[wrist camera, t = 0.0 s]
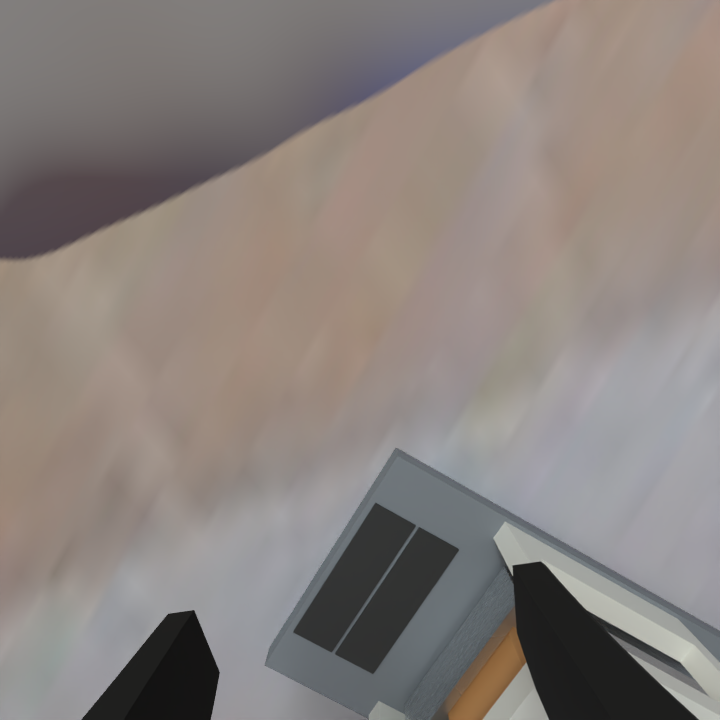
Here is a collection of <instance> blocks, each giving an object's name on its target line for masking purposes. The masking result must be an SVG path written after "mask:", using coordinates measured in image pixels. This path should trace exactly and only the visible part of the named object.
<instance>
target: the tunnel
mask: <svg viewBox="0 0 720 720" xmlns="http://www.w3.org/2000/svg"><path fill="white" fill-rule="evenodd" d="M493 539H494V541H495V542H496V544H497V546H498V548H499V550H500V552H501V554H502V556H503V558H504V560H505V562H506V564H507V566H508V568H509V570H510V572H511V574H512V575H513V568H512V565H518V564H525V563H533V562H540V561H541V562H542V563H543V564H545V565H546V566H547V567H548V568H549V569H550V571H551V572H552V573H553V574H554V575H555V576H556V577H557V579H558V580H559V581H560V582H561V583H562V584H563V585H564V586H565V588H566V589H567V590H568V591H569V592H570V593H571V594H572V595H573V596H574V597H575V598H576V600H577V601H578V602H579V603H580V604H581V605H582V606H583V607H584V608H585V609H586V610H587V611H589V612H591V613H593V614H594V615H596V616H598V617H600V618H602V619H603V620H605V621H607V622H609V623H611V624H612V625H614V626H616V627H618V628H619V629H621V630H623V631H625V632H627V633H628V634H630V635H632V636H634V637H636V638H637V639H639V640H641V641H643V642H645V643H646V644H648V645H650V646H652V647H654V648H655V649H657V650H659V651H661V652H663V653H664V654H666V655H668V656H670V657H672V658H673V659H675V660H677V661H679V662H680V663H681V664H682V665H683V666H684V667H685V668H686V670H687V671H688V672H689V673H690V674H691V675H692V677H693V678H694V679H695V680H696V681H697V683H698V684H699V685H700V686H701V687H702V688H703V690H704V691H705V692H706V693H707V694H708V695H709V696H707V695H705V694H703V693H701V692H700V691H698V690H696V689H694V688H692V687H691V686H689V685H687V684H685V683H683V682H682V681H680V680H678V679H676V678H674V677H672V676H671V675H669V674H667V673H665V672H663V671H662V670H660V669H658V668H656V667H654V666H653V665H651V664H649V663H647V662H645V661H644V660H642V659H640V658H638V657H636V656H634V655H633V654H631V653H629V652H628V653H629V654H630V655H631V656H632V657H633V658H634V659H635V660H636V661H637V662H638V663H639V664H640V665H641V666H642V667H643V668H644V669H645V670H646V671H647V672H648V673H649V674H650V675H651V676H653V677H654V678H655V679H656V680H657V681H658V682H659V683H660V684H661V685H662V686H663V687H664V688H665V689H666V690H667V691H668V692H669V693H671V694H672V695H673V696H674V697H675V698H676V699H677V700H678V701H679V702H680V703H681V704H683V705H684V706H685V707H686V708H687V709H688V710H689V711H690V712H691V713H692V714H693V715H694V716H696V717H697V718H698V719H699V720H720V662H719V661H718V660H717V659H716V658H715V657H714V656H713V655H712V654H711V653H710V652H709V651H708V650H707V649H706V648H705V647H704V646H703V645H702V643H701V642H700V641H699V640H698V639H697V638H696V637H695V636H694V635H693V634H692V633H691V632H690V631H689V630H688V629H687V628H686V627H685V626H684V625H683V624H682V623H681V622H680V620H679V619H677V618H675V617H674V616H672V615H670V614H668V613H666V612H665V611H663V610H661V609H659V608H658V607H656V606H654V605H652V604H650V603H649V602H647V601H645V600H643V599H642V598H640V597H638V596H636V595H635V594H633V593H631V592H629V591H627V590H626V589H624V588H622V587H620V586H619V585H617V584H615V583H613V582H612V581H610V580H608V579H606V578H604V577H603V576H601V575H599V574H597V573H596V572H594V571H592V570H590V569H588V568H587V567H585V566H583V565H581V564H580V563H578V562H576V561H574V560H573V559H571V558H569V557H567V556H565V555H564V554H562V553H560V552H558V551H557V550H555V549H553V548H551V547H550V546H548V545H546V544H544V543H542V542H541V541H539V540H537V539H535V538H534V537H532V536H530V535H528V534H526V533H525V532H523V531H521V530H519V529H518V528H516V527H514V526H512V525H511V524H509V523H507V522H504V524H503V525H502V527H501V528H500V529H499V531H498V532H497V534H496V535H495V536H494V538H493ZM369 720H405V714H403V713H401V712H399V711H397V710H395V709H394V708H392V707H390V706H388V705H386V704H384V703H382V702H380V701H378V703H377V704H376V705H375V707H374V708H373V710H372V711H371V712H370V714H369ZM483 720H549V718H548V716H547V714H546V712H545V709H544V707H543V705H542V702H541V700H540V698H539V695H538V693H537V691H536V688H535V685H534V682H533V680H532V677H531V674H530V671H529V668H528V665H527V662H526V663H525V665H524V666H523V667H522V669H521V670H520V671H519V672H518V674H517V675H516V676H515V678H514V679H513V680H512V682H511V683H510V684H509V686H508V687H507V688H506V689H505V691H504V692H503V693H502V695H501V696H500V697H499V699H498V700H497V701H496V703H495V704H494V705H493V706H492V708H491V709H490V710H489V712H488V713H487V714H486V716H485V717H484V718H483Z"/></svg>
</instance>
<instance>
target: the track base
mask: <svg viewBox="0 0 720 720" xmlns="http://www.w3.org/2000/svg"><path fill="white" fill-rule="evenodd" d="M504 522H507V523H509V524H511V525H512V526H514V527H516V528H518V529H519V530H521V531H523V532H525V533H526V534H528V535H530V536H532V537H534V538H535V539H537V540H539V541H541V542H542V543H544V544H546V545H548V546H550V547H551V548H553V549H555V550H557V551H558V552H560V553H562V554H564V555H565V556H567V557H569V558H571V559H573V560H574V561H576V562H578V563H580V564H581V565H583V566H585V567H587V568H588V569H590V570H592V571H594V572H596V573H597V574H599V575H601V576H603V577H604V578H606V579H608V580H610V581H612V582H613V583H615V584H617V585H619V586H620V587H622V588H624V589H626V590H627V591H629V592H631V593H633V594H635V595H636V596H638V597H640V598H642V599H643V600H645V601H647V602H649V603H650V604H652V605H654V606H656V607H658V608H659V609H661V610H663V611H665V612H666V613H668V614H670V615H672V616H674V617H675V618H677V619H679V620H680V622H681V623H682V624H683V625H684V626H685V627H686V628H687V629H688V630H689V631H690V632H691V633H692V634H693V635H694V636H695V637H696V638H697V639H698V640H699V641H700V642H701V643H702V645H703V646H704V647H705V648H706V649H707V650H708V651H709V652H710V653H711V654H712V655H713V656H714V657H715V658H716V659H717V660H718V661H719V662H720V631H719V630H717V629H715V628H713V627H712V626H710V625H708V624H706V623H704V622H703V621H701V620H699V619H697V618H696V617H694V616H692V615H690V614H689V613H687V612H685V611H683V610H682V609H680V608H678V607H676V606H674V605H673V604H671V603H669V602H667V601H666V600H664V599H662V598H660V597H659V596H657V595H655V594H653V593H652V592H650V591H648V590H646V589H644V588H643V587H641V586H639V585H637V584H636V583H634V582H632V581H630V580H629V579H627V578H625V577H623V576H622V575H620V574H618V573H616V572H614V571H613V570H611V569H609V568H607V567H606V566H604V565H602V564H600V563H599V562H597V561H595V560H593V559H592V558H590V557H588V556H586V555H584V554H583V553H581V552H579V551H577V550H576V549H574V548H572V547H570V546H569V545H567V544H565V543H563V542H562V541H560V540H558V539H556V538H554V537H553V536H551V535H549V534H547V533H546V532H544V531H542V530H540V529H539V528H537V527H535V526H533V525H532V524H530V523H528V522H526V521H524V520H523V519H521V518H519V517H517V516H516V515H514V514H512V513H510V512H509V511H507V510H505V509H503V508H502V507H500V506H498V505H496V504H494V503H493V502H491V501H489V500H487V499H486V498H484V497H482V496H480V495H479V494H477V493H475V492H473V491H472V490H470V489H468V488H466V487H464V486H463V485H461V484H459V483H457V482H456V481H454V480H452V479H450V478H449V477H447V476H445V475H443V474H442V473H440V472H438V471H436V470H434V469H433V468H431V467H429V466H427V465H426V464H424V463H422V462H420V461H419V460H417V459H415V458H413V457H412V456H410V455H408V454H406V453H405V452H403V451H401V450H399V449H397V448H396V449H395V450H394V452H393V453H392V455H391V457H390V458H389V460H388V461H387V463H386V464H385V466H384V468H383V469H382V471H381V472H380V474H379V476H378V477H377V479H376V480H375V482H374V483H373V485H372V487H371V488H370V490H369V491H368V493H367V494H366V496H365V498H364V499H363V501H362V502H361V504H360V506H359V507H358V509H357V510H356V512H355V513H354V515H353V517H352V518H351V520H350V521H349V523H348V525H347V526H346V528H345V529H344V531H343V532H342V534H341V536H340V537H339V539H338V540H337V542H336V544H335V545H334V547H333V548H332V550H331V551H330V553H329V555H328V556H327V558H326V559H325V561H324V563H323V564H322V566H321V567H320V569H319V570H318V572H317V574H316V575H315V577H314V578H313V580H312V582H311V583H310V585H309V586H308V588H307V589H306V591H305V593H304V594H303V596H302V597H301V599H300V601H299V602H298V604H297V605H296V607H295V608H294V610H293V612H292V613H291V615H290V616H289V618H288V619H287V621H286V623H285V624H284V626H283V627H282V629H281V631H280V632H279V634H278V635H277V637H276V638H275V640H274V642H273V643H272V645H271V646H270V648H269V651H268V655H267V659H266V662H265V666H267V667H269V668H271V669H273V670H275V671H277V672H279V673H281V674H283V675H285V676H287V677H288V678H290V679H292V680H294V681H296V682H298V683H300V684H302V685H304V686H306V687H308V688H310V689H312V690H314V691H316V692H318V693H320V694H322V695H324V696H325V697H327V698H329V699H331V700H333V701H335V702H337V703H339V704H341V705H343V706H345V707H347V708H349V709H351V710H353V711H355V712H357V713H359V714H361V715H363V716H364V717H366V718H368V719H369V714H370V712H371V711H372V710H373V708H374V707H375V705H376V704H377V703H378V701H380V702H382V703H384V704H386V705H388V706H390V707H392V708H394V709H395V710H397V711H399V712H401V713H403V714H405V709H404V705H405V703H406V702H407V700H408V699H409V698H410V696H411V695H412V694H413V692H414V691H415V689H416V688H417V687H418V685H419V684H420V682H421V681H422V680H423V678H424V677H425V675H426V674H427V673H428V671H429V670H430V668H431V667H432V666H433V664H434V663H435V662H436V660H437V659H438V657H439V656H440V655H441V653H442V652H443V650H444V649H445V648H446V646H447V645H448V643H449V642H450V641H451V639H452V638H453V636H454V635H455V634H456V632H457V631H458V630H459V628H460V627H461V625H462V624H463V623H464V621H465V620H466V618H467V617H468V616H469V614H470V613H471V611H472V610H473V609H474V607H475V606H476V604H477V603H478V602H479V600H480V599H481V598H482V596H483V595H484V593H485V592H486V591H487V589H488V588H489V586H490V585H491V584H492V582H493V581H494V579H495V578H496V577H497V575H498V574H499V573H500V571H501V570H502V568H503V567H504V566H505V567H507V568H508V566H507V564H506V562H505V560H504V558H503V556H502V554H501V552H500V550H499V548H498V546H497V544H496V542H495V541H494V539H493V538H494V536H495V535H496V534H497V532H498V531H499V529H500V528H501V527H502V525H503V524H504ZM508 569H509V568H508ZM588 612H589V611H588ZM589 613H590V614H591V615H593V616H595V617H597V618H598V619H600V620H602V621H604V622H606V623H607V624H609V625H611V626H613V627H615V628H616V629H618V630H620V631H622V632H624V633H625V634H627V635H629V636H631V637H633V638H634V639H636V640H638V641H640V642H642V643H643V644H645V645H647V646H649V647H651V648H652V649H654V650H656V651H658V652H660V653H661V654H663V655H665V656H667V657H669V658H670V659H672V660H674V661H676V662H678V663H679V664H681V663H680V662H679V661H677V660H675V659H673V658H672V657H670V656H668V655H666V654H664V653H663V652H661V651H659V650H657V649H655V648H654V647H652V646H650V645H648V644H646V643H645V642H643V641H641V640H639V639H637V638H636V637H634V636H632V635H630V634H628V633H627V632H625V631H623V630H621V629H619V628H618V627H616V626H614V625H612V624H611V623H609V622H607V621H605V620H603V619H602V618H600V617H598V616H596V615H594V614H593V613H591V612H589ZM681 665H682V664H681Z"/></svg>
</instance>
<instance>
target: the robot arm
mask: <svg viewBox="0 0 720 720" xmlns="http://www.w3.org/2000/svg"><path fill="white" fill-rule="evenodd" d="M512 568H513V583H514V598H515V614H516V629H517V635H518V638H519V641H520V644H521V647H522V650H523V653H524V656H525V659H526V662H527V665H528V668H529V671H530V674H531V677H532V680H533V682H534V685H535V688H536V691H537V693H538V695H539V698H540V700H541V702H542V705H543V707H544V709H545V712H546V714H547V716H548V718H549V720H699V719H698V718H697V717H696V716H694V715H693V714H692V713H691V712H690V711H689V710H688V709H687V708H686V707H685V706H684V705H683V704H681V703H680V702H679V701H678V700H677V699H676V698H675V697H674V696H673V695H672V694H671V693H669V692H668V691H667V690H666V689H665V688H664V687H663V686H662V685H661V684H660V683H659V682H658V681H657V680H656V679H655V678H654V677H653V676H651V675H650V674H649V673H648V672H647V671H646V670H645V669H644V668H643V667H642V666H641V665H640V664H639V663H638V662H637V661H636V660H635V659H634V658H633V657H632V656H631V655H630V654H629V653H628V652H627V651H626V650H625V649H624V648H623V647H622V646H621V645H620V644H619V643H618V642H617V641H616V640H615V639H614V638H613V637H612V636H611V635H610V634H609V633H608V632H607V631H606V630H605V629H604V628H603V627H602V626H601V625H600V624H599V623H598V622H597V621H596V620H595V619H594V618H593V617H592V616H591V614H590V613H589V612H588V611H587V610H586V609H585V608H584V607H583V606H582V605H581V604H580V603H579V602H578V601H577V600H576V598H575V597H574V596H573V595H572V594H571V593H570V592H569V591H568V590H567V589H566V588H565V586H564V585H563V584H562V583H561V582H560V581H559V580H558V579H557V577H556V576H555V575H554V574H553V573H552V572H551V571H550V569H549V568H548V567H547V566H546V565H545V564H543V563H542V562H541V561H540V562H533V563H525V564H518V565H512ZM219 673H220V672H219V670H218V667H217V665H216V662H215V660H214V657H213V655H212V653H211V650H210V648H209V645H208V643H207V640H206V638H205V636H204V633H203V631H202V628H201V626H200V623H199V621H198V619H197V616H196V614H195V611H194V610H192V611H185V612H178V613H171V614H168V615H167V616H166V617H165V619H164V620H163V621H162V622H161V623H160V624H159V626H158V627H157V628H156V629H155V630H154V632H153V633H152V634H151V635H150V637H149V638H148V639H147V640H146V642H145V643H144V644H143V645H142V647H141V648H140V649H139V650H138V651H137V653H136V654H135V655H134V656H133V658H132V659H131V660H130V661H129V663H128V664H127V665H126V666H125V668H124V669H123V670H122V671H121V672H120V674H119V675H118V676H117V677H116V679H115V680H114V681H113V682H112V683H111V685H110V686H109V687H108V688H107V690H106V691H105V692H104V693H103V694H102V696H101V697H100V698H99V699H98V700H97V702H96V703H95V704H94V705H93V706H92V708H91V709H90V710H89V711H88V713H87V714H86V715H85V716H84V717H83V719H82V720H211V715H212V710H213V705H214V700H215V695H216V690H217V684H218V679H219Z"/></svg>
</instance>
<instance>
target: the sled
mask: <svg viewBox="0 0 720 720" xmlns="http://www.w3.org/2000/svg"><path fill="white" fill-rule="evenodd" d="M591 616H592V617H593V618H594V619H595V620H596V621H597V622H598V623H599V624H600V625H601V626H602V627H603V628H604V629H605V630H606V631H607V632H608V633H609V634H610V635H611V636H612V637H613V638H614V639H615V640H616V641H617V642H618V643H619V644H620V645H621V646H622V647H623V648H624V649H625V650H626V651H627V652H629V653H631V654H633V655H634V656H636V657H638V658H640V659H642V660H644V661H645V662H647V663H649V664H651V665H653V666H654V667H656V668H658V669H660V670H662V671H663V672H665V673H667V674H669V675H671V676H672V677H674V678H676V679H678V680H680V681H682V682H683V683H685V684H687V685H689V686H691V687H692V688H694V689H696V690H698V691H700V692H701V693H703V694H705V695H707V696H709V695H708V694H707V693H706V692H705V691H704V690H703V688H702V687H701V686H700V685H699V684H698V683H697V681H696V680H695V679H694V678H693V677H692V675H691V674H690V673H689V672H688V671H687V670H686V668H685V667H684V666H683V665H681V664H679V663H678V662H676V661H674V660H672V659H670V658H669V657H667V656H665V655H663V654H661V653H660V652H658V651H656V650H654V649H652V648H651V647H649V646H647V645H645V644H643V643H642V642H640V641H638V640H636V639H634V638H633V637H631V636H629V635H627V634H625V633H624V632H622V631H620V630H618V629H616V628H615V627H613V626H611V625H609V624H607V623H606V622H604V621H602V620H600V619H598V618H597V617H595V616H593V615H591ZM512 627H514V628H516V614H515V598H514V583H513V575H512V574H511V572H510V570H509V569H508V568H507V567H505V566H504V567H503V568H502V570H501V571H500V573H499V574H498V575H497V577H496V578H495V579H494V581H493V582H492V584H491V585H490V586H489V588H488V589H487V591H486V592H485V593H484V595H483V596H482V598H481V599H480V600H479V602H478V603H477V604H476V606H475V607H474V609H473V610H472V611H471V613H470V614H469V616H468V617H467V618H466V620H465V621H464V623H463V624H462V625H461V627H460V628H459V630H458V631H457V632H456V634H455V635H454V636H453V638H452V639H451V641H450V642H449V643H448V645H447V646H446V648H445V649H444V650H443V652H442V653H441V655H440V656H439V657H438V659H437V660H436V662H435V663H434V664H433V666H432V667H431V668H430V670H429V671H428V673H427V674H426V675H425V677H424V678H423V680H422V681H421V682H420V684H419V685H418V687H417V688H416V689H415V691H414V692H413V694H412V695H411V696H410V698H409V699H408V700H407V702H406V703H405V705H404V709H405V720H449V717H448V713H449V712H450V710H451V709H452V708H453V706H454V705H455V703H456V702H457V701H458V699H459V698H460V697H461V695H462V694H463V693H464V691H465V690H466V689H467V687H468V686H469V685H470V683H471V682H472V681H473V679H474V678H475V677H476V675H477V674H478V673H479V671H480V670H481V669H482V667H483V666H484V665H485V663H486V662H487V661H488V659H489V658H490V656H491V655H492V654H493V652H494V651H495V650H496V648H497V647H498V646H499V644H500V643H501V642H502V640H503V639H504V638H505V636H506V635H507V634H508V632H509V631H510V630H511V628H512Z"/></svg>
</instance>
